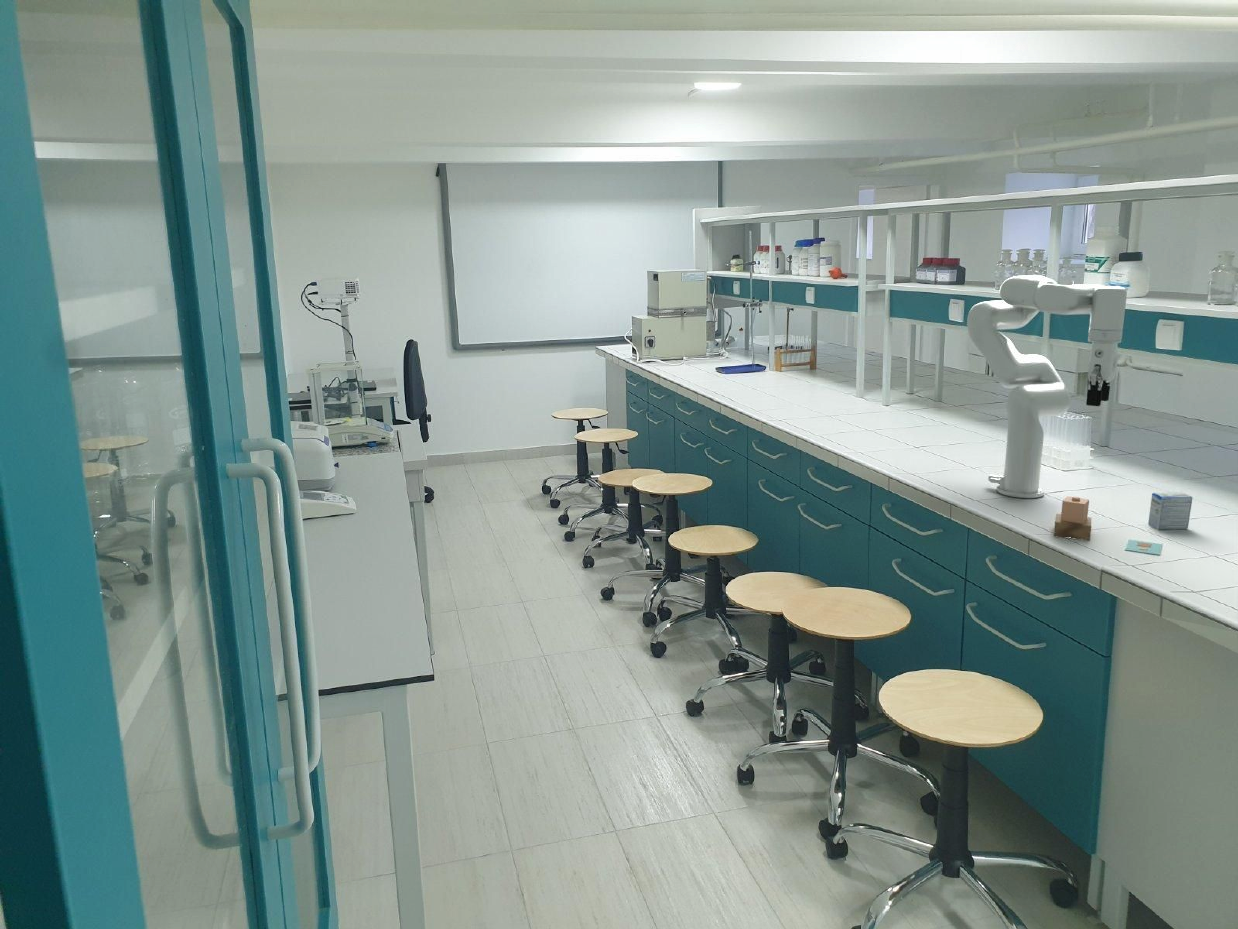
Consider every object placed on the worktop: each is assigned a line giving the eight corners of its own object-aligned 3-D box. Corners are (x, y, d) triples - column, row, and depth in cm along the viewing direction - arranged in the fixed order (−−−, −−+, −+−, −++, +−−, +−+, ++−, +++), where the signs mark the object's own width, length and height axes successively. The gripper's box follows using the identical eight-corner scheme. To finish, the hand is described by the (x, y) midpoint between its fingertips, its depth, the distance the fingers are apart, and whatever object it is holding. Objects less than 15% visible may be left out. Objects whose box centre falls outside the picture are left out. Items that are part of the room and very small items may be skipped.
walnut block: (1053, 537, 226) (1055, 522, 225) (1054, 528, 233) (1056, 513, 232) (1089, 541, 222) (1091, 526, 222) (1089, 532, 229) (1091, 517, 229)
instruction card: (1125, 550, 215) (1125, 549, 215) (1128, 540, 222) (1128, 538, 222) (1159, 555, 211) (1159, 554, 211) (1161, 544, 219) (1162, 543, 219)
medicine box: (1177, 524, 235) (1182, 491, 233) (1188, 529, 230) (1193, 496, 228) (1147, 524, 235) (1151, 492, 233) (1157, 530, 230) (1162, 496, 228)
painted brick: (1060, 520, 226) (1062, 498, 225) (1065, 515, 230) (1067, 494, 229) (1082, 523, 223) (1085, 501, 222) (1087, 518, 227) (1089, 497, 226)
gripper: (1114, 339, 222) (1106, 409, 226) (1128, 334, 236) (1120, 399, 240) (1081, 338, 227) (1073, 406, 231) (1096, 332, 240) (1088, 397, 244)
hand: (1097, 403), depth 235 cm, fingers open, 9 cm apart
